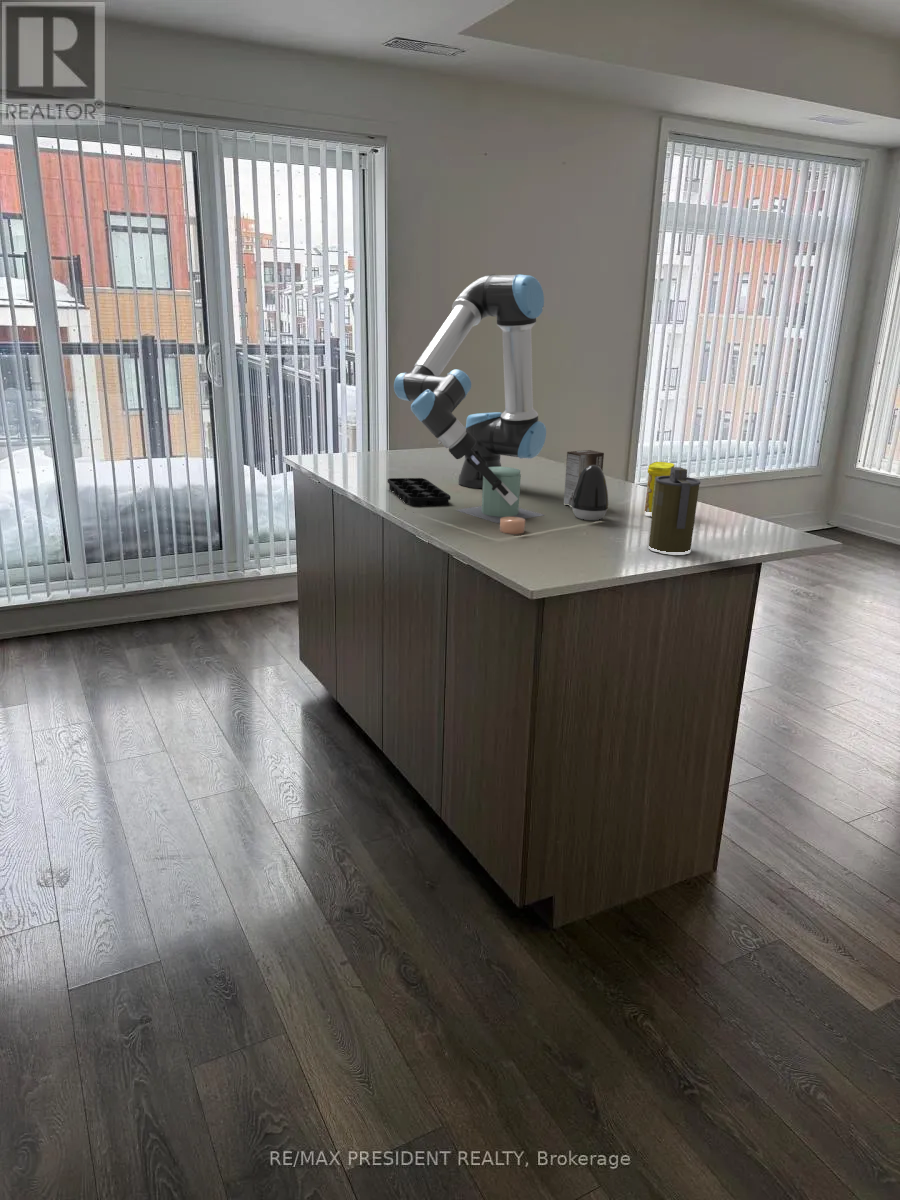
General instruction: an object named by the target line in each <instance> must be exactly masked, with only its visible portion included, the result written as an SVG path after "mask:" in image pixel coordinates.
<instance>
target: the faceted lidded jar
mask: <svg viewBox="0 0 900 1200" xmlns="http://www.w3.org/2000/svg"><path fill="white" fill-rule="evenodd" d="M489 469H490V470H491V471H492V472H493V473H494V474H495V475H496V476H497V477H498V479H499V480H501V482H503V483H504V484H505V485H506V486H507V487H508V489H509V490H510V491H511V492H512V493H513V494H514V495H515V496H516V497H517V498H518V500H517V501H515V502H514V503H513V504H512V505H510V504H509V503H508V502H507V501H506V500H505V499H504V498H503V497H502V496H501V495H500V494H499V493H498V492H497V491H496V489H495V490H494V491H493V490H492V488H493V487H492V485H491V484H490V483H489V482H488V480H487V479H486V478H485V477H484V476H483V488H482V490H481V491H482V494H481V506H482V513H483V514H486V515H489V516H497V517H509V516H516V515H517V514H518V512H519V508H520V492H521V479H522V478H521V477H522V476H521V475H522V474H521V469H518V468H516V467H508V466H501V467H489ZM496 481H497V480H496ZM496 481H495V482H496ZM495 482H494V483H495Z"/></svg>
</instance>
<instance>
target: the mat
mask: <svg viewBox="0 0 900 1200" xmlns="http://www.w3.org/2000/svg"><path fill="white" fill-rule="evenodd" d="M455 511H456V512H459V513H463V514H467V515H470V516H473V517H476V518H480V519H482V520H485V521H489V522H492V523H495V524H500V519H501V518H502V517H497V516H489V515H486V514H483V513H482V505H479V506H471V507H466V508H458V509H455ZM543 516H545V514H543V513H540V512H536V511H532V510H530V509H529V510H528V509H525V508H522V507H519V512H518V514H517V515H516V516H509V517H520V518H523V519H525V520H526V519H530V518H537V517H543Z"/></svg>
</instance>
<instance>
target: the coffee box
mask: <svg viewBox="0 0 900 1200" xmlns="http://www.w3.org/2000/svg"><path fill="white" fill-rule="evenodd" d="M604 455H605V453H604V452H603V451H602V452H601V451H598V450H597V451H595V450H592V449H586V450H585V449H584V450H573V451H571V450H570V451H567V452H566V466H565V478H564V493H563V494H564V495H563V504H564V503H565V504H569V505H571V502H572V497H573V493H574V490H575V487H576V484H577V481H578V479H579V476H580V474H581V473H582V471H583V470H584V469H585V468H586V467H587V466H589V465H597V466H598V467H600V468H601V470H602V471H604V470H603V469H604V459H605V457H604Z"/></svg>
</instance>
